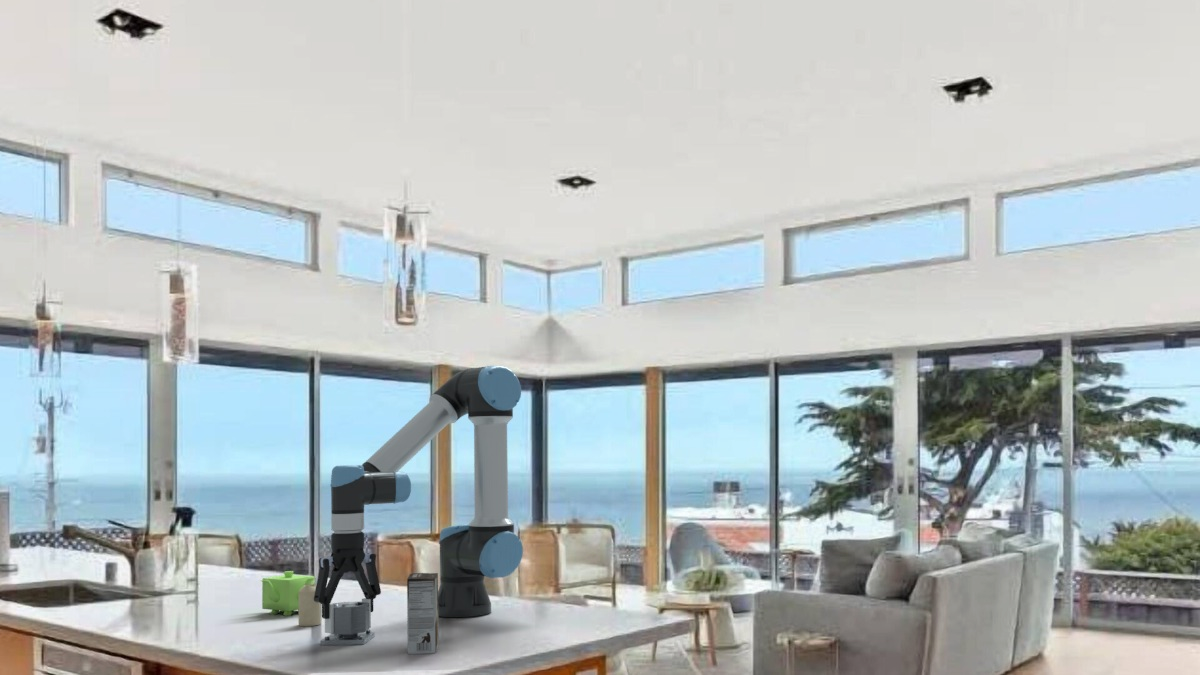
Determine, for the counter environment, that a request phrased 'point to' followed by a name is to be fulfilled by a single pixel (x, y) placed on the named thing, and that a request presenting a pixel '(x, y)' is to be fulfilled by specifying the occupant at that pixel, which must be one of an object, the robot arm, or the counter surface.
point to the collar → (351, 619)
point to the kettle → (283, 592)
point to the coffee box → (422, 613)
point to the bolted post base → (348, 638)
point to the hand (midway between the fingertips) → (348, 629)
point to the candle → (309, 607)
